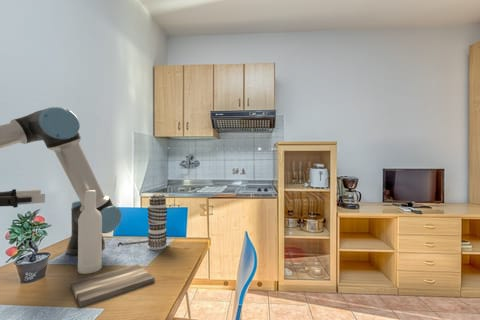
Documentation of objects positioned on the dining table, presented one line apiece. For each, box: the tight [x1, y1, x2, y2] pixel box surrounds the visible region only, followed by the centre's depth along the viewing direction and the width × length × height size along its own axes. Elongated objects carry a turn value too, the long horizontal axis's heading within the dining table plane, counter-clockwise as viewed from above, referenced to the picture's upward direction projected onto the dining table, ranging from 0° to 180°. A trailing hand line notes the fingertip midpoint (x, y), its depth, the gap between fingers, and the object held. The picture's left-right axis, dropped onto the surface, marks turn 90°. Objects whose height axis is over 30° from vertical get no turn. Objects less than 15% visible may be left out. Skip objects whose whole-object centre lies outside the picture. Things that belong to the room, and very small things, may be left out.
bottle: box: [77, 190, 103, 275], centre depth 97 cm, size 8×8×30 cm
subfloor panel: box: [69, 263, 155, 308], centre depth 86 cm, size 15×22×2 cm
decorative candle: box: [146, 193, 168, 251], centre depth 122 cm, size 9×9×25 cm
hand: (42, 195), depth 87 cm, fingers open, 13 cm apart
